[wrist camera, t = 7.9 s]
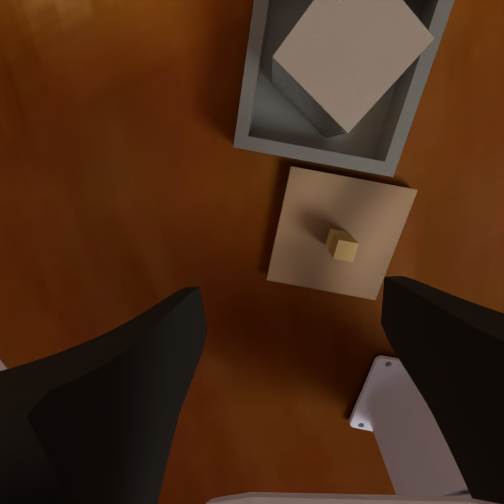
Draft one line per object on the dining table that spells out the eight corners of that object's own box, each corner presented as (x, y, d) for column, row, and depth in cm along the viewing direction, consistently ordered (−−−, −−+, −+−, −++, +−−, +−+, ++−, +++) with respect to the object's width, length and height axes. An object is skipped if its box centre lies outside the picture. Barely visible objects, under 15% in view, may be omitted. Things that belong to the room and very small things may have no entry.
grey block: (328, 10, 14) (355, -57, 10) (386, 74, 15) (436, 40, 11) (272, 84, 16) (272, 56, 11) (327, 139, 17) (349, 135, 12)
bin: (432, -2, 14) (465, -32, 12) (376, 173, 18) (392, 177, 15) (264, -33, 14) (263, -70, 12) (238, 147, 18) (233, 147, 15)
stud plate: (411, 188, 18) (440, 196, 15) (371, 294, 21) (389, 320, 18) (290, 165, 18) (294, 168, 15) (266, 275, 21) (266, 297, 18)
